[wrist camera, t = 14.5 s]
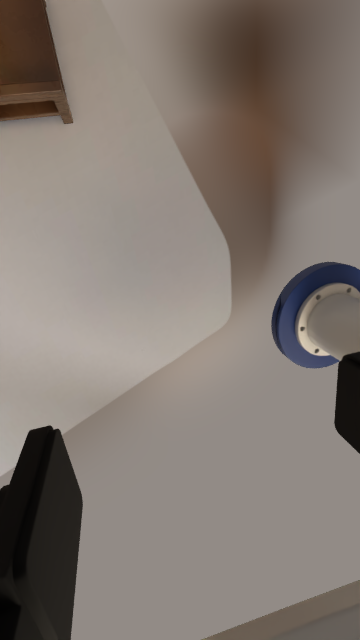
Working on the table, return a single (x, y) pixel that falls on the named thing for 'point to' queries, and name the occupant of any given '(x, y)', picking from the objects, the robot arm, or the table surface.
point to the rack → (29, 64)
